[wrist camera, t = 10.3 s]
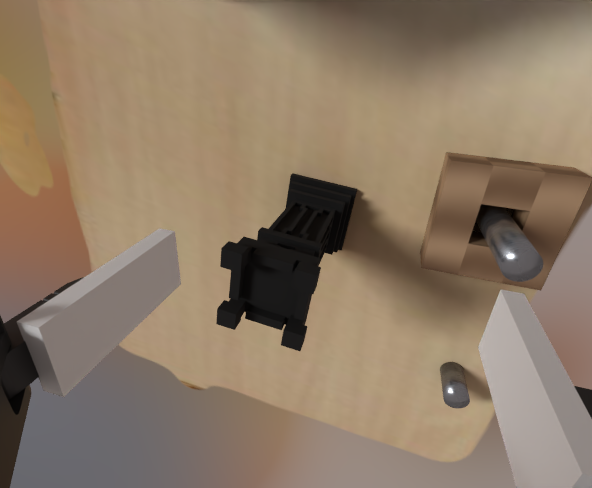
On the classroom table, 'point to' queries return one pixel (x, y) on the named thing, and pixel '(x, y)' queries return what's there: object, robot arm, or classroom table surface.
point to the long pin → (508, 244)
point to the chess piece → (286, 259)
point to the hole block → (503, 193)
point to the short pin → (454, 385)
